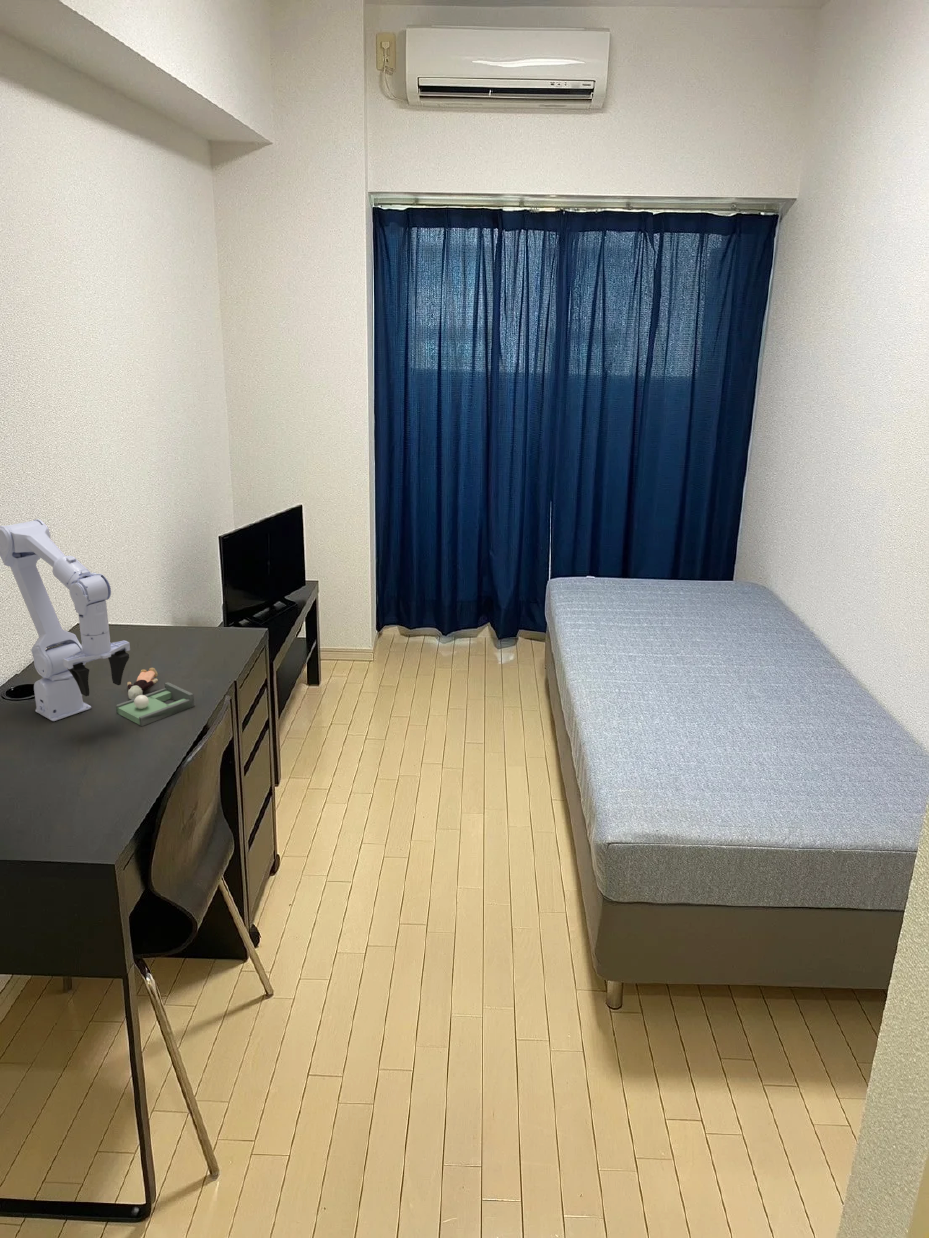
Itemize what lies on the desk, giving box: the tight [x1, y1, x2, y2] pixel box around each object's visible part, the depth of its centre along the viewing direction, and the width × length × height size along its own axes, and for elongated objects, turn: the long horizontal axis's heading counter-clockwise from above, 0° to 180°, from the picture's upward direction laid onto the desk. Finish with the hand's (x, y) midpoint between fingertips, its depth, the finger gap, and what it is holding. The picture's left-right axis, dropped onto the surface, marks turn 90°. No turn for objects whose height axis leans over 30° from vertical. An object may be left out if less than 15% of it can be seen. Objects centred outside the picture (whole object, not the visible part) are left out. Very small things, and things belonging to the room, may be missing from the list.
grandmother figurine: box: [126, 667, 159, 700], centre depth 220 cm, size 8×4×13 cm
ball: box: [134, 694, 149, 709], centre depth 207 cm, size 3×3×3 cm
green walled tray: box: [115, 681, 195, 727], centre depth 210 cm, size 14×10×3 cm
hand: (101, 689), depth 198 cm, fingers open, 7 cm apart
